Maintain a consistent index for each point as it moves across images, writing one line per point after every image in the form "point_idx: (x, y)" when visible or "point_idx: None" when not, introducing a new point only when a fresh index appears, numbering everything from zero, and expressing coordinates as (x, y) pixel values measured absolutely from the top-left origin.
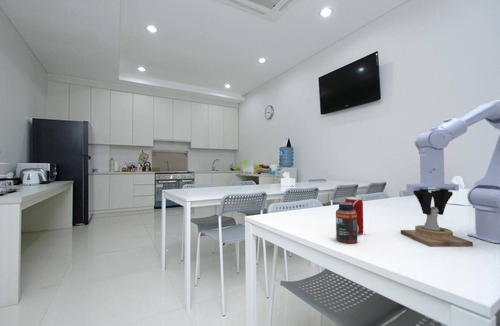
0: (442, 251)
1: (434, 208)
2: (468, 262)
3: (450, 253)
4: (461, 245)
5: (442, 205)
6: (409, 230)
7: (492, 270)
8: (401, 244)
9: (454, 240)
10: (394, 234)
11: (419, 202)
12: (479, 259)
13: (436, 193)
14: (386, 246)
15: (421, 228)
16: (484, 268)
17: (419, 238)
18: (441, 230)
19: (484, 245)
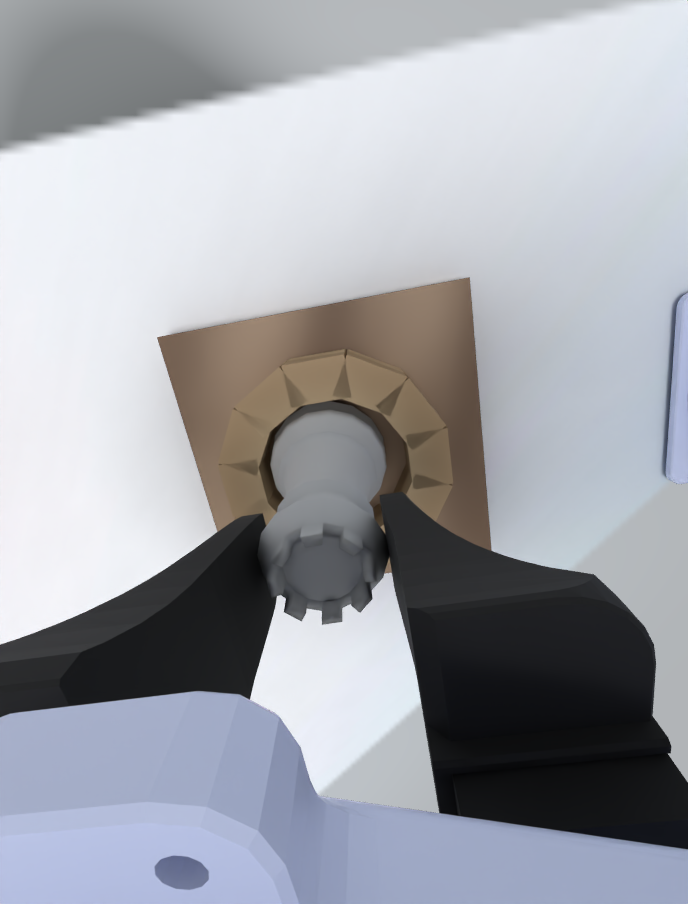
0: (269, 634)
1: (323, 608)
2: (299, 726)
3: (290, 652)
4: None
5: (411, 651)
6: (224, 341)
7: (333, 772)
8: (107, 568)
9: None
10: (119, 365)
11: (158, 579)
12: (367, 696)
13: (425, 722)
14: (24, 607)
15: (249, 476)
16: (318, 763)
17: (217, 523)
18: (406, 449)
19: (572, 516)
